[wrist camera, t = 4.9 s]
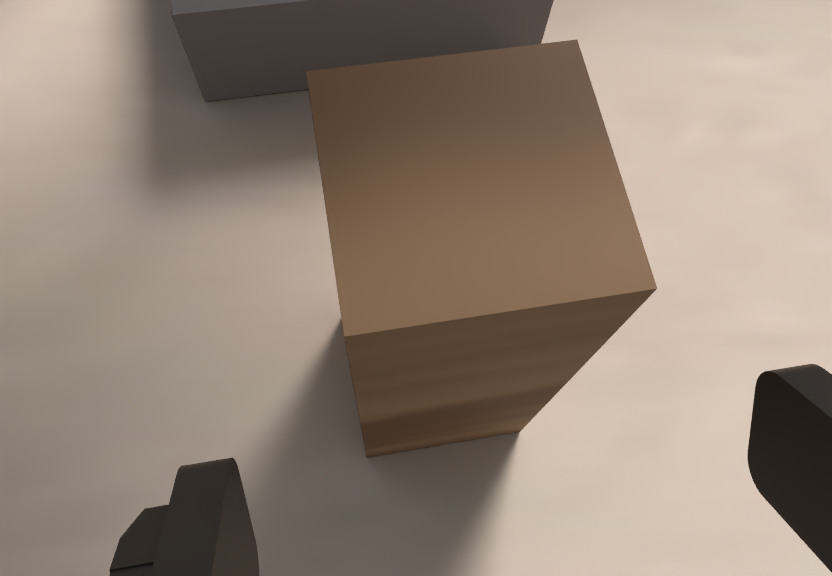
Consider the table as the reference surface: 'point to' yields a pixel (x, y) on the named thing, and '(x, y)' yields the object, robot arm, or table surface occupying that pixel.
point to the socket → (337, 36)
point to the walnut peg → (471, 237)
